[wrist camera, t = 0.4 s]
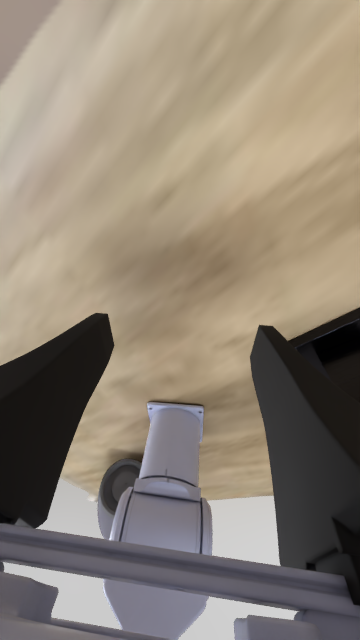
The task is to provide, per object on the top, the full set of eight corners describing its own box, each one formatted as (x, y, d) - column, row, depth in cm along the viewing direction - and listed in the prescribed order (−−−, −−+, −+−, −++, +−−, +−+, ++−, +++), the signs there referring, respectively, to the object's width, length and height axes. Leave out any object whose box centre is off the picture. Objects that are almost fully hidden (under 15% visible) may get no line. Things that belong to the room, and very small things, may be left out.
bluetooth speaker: (109, 446, 41) (85, 515, 33) (158, 456, 41) (146, 527, 33) (108, 487, 54) (90, 544, 46) (145, 495, 55) (134, 552, 46)
